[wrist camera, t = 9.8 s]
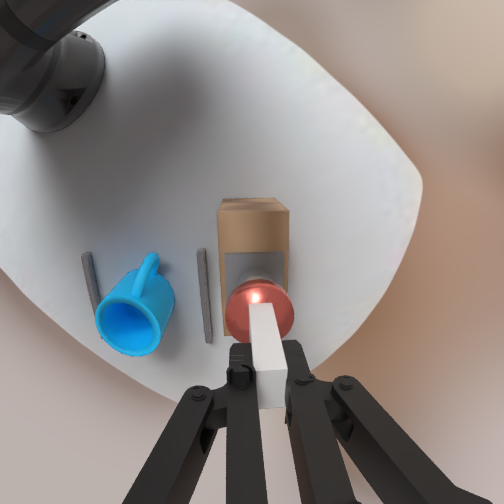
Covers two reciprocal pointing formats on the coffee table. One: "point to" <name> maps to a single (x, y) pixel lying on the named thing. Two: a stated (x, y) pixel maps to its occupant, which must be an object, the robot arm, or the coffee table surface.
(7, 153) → the coffee table surface
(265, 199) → the end cabinet
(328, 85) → the coffee table surface
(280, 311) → the red rounded piece
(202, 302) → the pair of gray bars
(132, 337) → the mug
